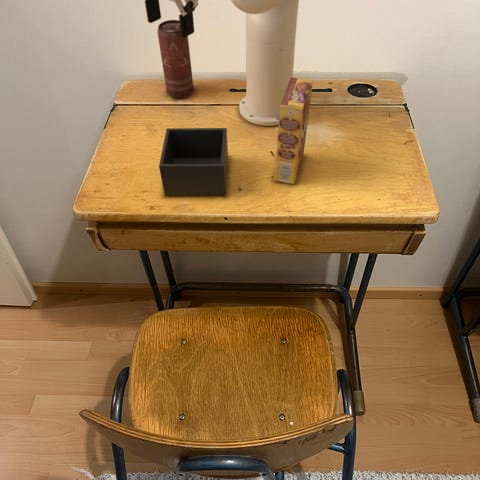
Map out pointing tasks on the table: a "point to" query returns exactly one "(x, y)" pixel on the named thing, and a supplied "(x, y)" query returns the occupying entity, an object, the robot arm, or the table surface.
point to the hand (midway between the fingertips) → (170, 27)
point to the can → (175, 60)
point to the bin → (194, 162)
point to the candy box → (292, 129)
